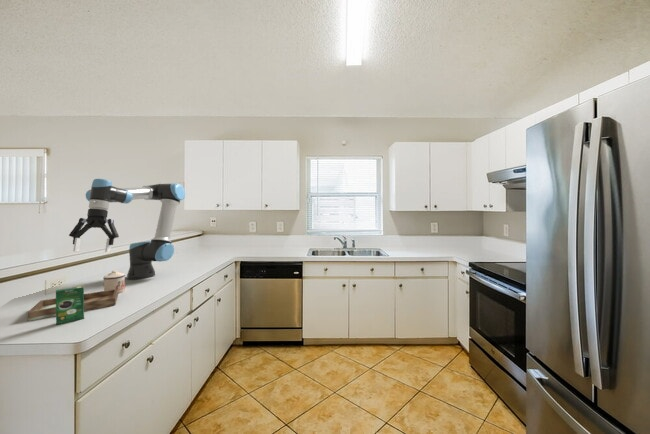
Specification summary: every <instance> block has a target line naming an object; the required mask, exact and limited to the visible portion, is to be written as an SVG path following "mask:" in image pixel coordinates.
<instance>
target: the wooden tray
mask: <svg viewBox="0 0 650 434" xmlns="http://www.w3.org/2000/svg"><path fill="white" fill-rule="evenodd" d="M118 296H119V293H118V289H113V290H107V291H104V290H101V291H94V292H89V293H84V312H85V311H92V310H97V309H102V308H103V309H104V308H108V307H113V306H116V303H117V301H118ZM26 315H27V321H28V322H29V321H35V320H41V319H47V318H52V317H56V297H54V298H49V299H41V300H40V301H38V302H37V303H36V304H34V306H33V307H32V308H30V309H29V310H28V311H27V314H26Z"/></svg>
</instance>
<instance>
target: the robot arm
mask: <svg viewBox="0 0 650 434" xmlns="http://www.w3.org/2000/svg"><path fill="white" fill-rule="evenodd" d="M91 183H92V184H91V186H90V187H91V189H89V190H87V191H86V193H85V198H86V200H87V201H88V202H89V203H88V209H87V214H86V215H87V218H84V217H80V218H78V222H77V223H76V225H74V227H73V229H72V230H71V231H70V233H69V235H68V236H69V237H71V238H73V239H72V245H73V252H80V250H81V249H80V248H81V243H82V238H81V237H82V236H83V235H84V234H85V233H87V231H88V230H90V229H92V228H95V229H96V228H97V229H101V230H102V232H104V234H105V235H106V236H107V237H108V238H106V243H105V250H104V251H105V253H106V252H107V253H110V252H111V251H112V250H111V249H112V246H113V245H114V241H115V239H118V238H119V233H118V231H117V228H116V227H115V221H114V219H111V218H108V215H109V214H108V213H109V212H108V210H109V206H110V203H120V204H129V203H131V202H132V201H133V200H143V199H144V200H145V201H149V200H150V201H151V200H152V201H153V200H154V201H160V203H161V207H160V213H159V215H158V220H157V224H156V230H155V234H154V238H152V239H151V240H146V241H140V242H133V243H131V244H130V245H129V249H128V251H129V252H128V253H129V269H128V271H127V274H126V278H127V280H142V279H143V280H144V279H148V278H152V277H154V276H155V275H156V271H155V268H154V266H153V264H152V263H153V262H159V263H160V262H168V261H169V260H170V259H171V258H172V257H173V255H174V254H175V248H174V245H173V244H172V241H171V234H172V229H173V226H174V225H173V224H174V220H175V215H176V210H177V206H178V205H180V203H181V201H182V200H185V198H186V190H185V188H184V186H182V185H181V184H180V183H173V182H172V183H157V184H150V185H143V186H141V187H123V188H122V187H120V188H119V187H116V186H114V185H113V182H112V181H111V180H109V179H104V178H94V179H93V180H92V182H91ZM107 218H108V219H107ZM106 223H107V225H108V226H107V225H106ZM108 227H109V228H108Z"/></svg>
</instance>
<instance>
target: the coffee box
mask: <svg viewBox="0 0 650 434" xmlns="http://www.w3.org/2000/svg"><path fill="white" fill-rule="evenodd" d="M84 292H85V288H84V286H83V285H81V286H74V287H73V286H72V287H67V288H60V289H56V290H55V298H56V316H55V321H56V322H55V323H56V325H60V324H61V325H62V324H65V323H69V322H74V321H79V320H82V319H85V311H84V294H85V293H84Z"/></svg>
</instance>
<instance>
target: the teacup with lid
mask: <svg viewBox="0 0 650 434" xmlns="http://www.w3.org/2000/svg"><path fill="white" fill-rule="evenodd" d="M125 278H126V274H125V273H123V272H119V271H117V270H112V271H111V272H110V273H108V274H107V275H104V276H103V278H102V279H103V291H107V290H113V289H118V294H121V293H123V292H125V291H126V279H125Z"/></svg>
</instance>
